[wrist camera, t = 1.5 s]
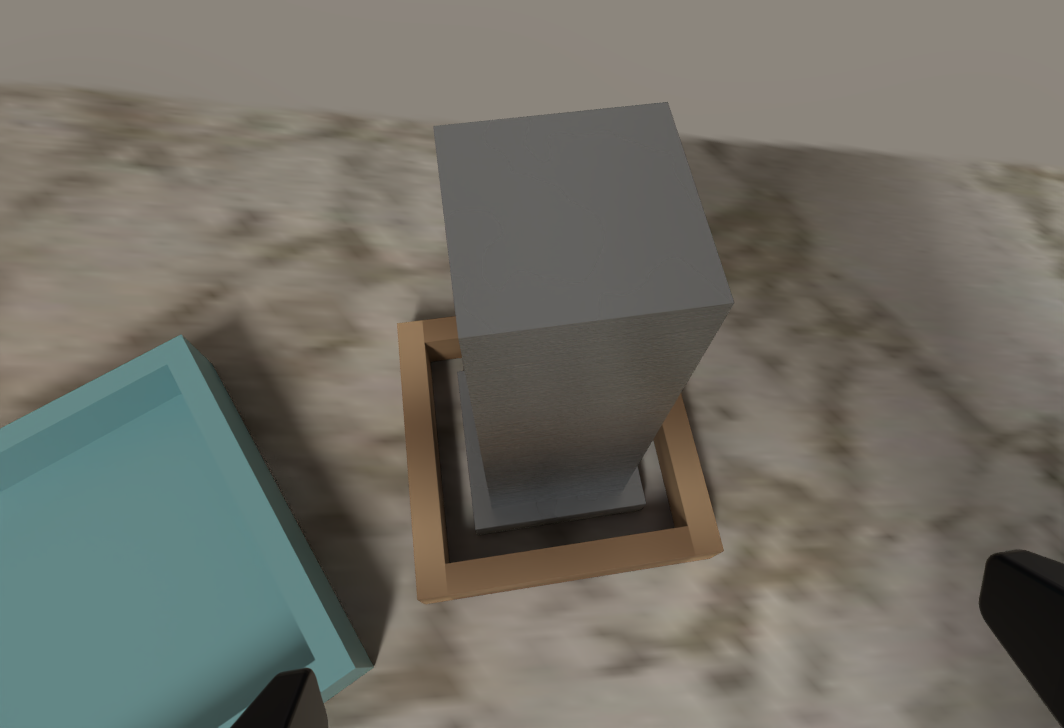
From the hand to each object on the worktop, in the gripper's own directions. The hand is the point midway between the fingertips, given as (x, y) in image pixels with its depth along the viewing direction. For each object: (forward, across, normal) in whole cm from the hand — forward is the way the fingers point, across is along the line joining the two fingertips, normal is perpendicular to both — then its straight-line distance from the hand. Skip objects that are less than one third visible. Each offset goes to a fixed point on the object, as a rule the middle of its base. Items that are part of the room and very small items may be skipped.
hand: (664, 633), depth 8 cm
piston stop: (+14, 0, +4) cm, 14 cm away
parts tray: (+11, +15, +7) cm, 20 cm away
